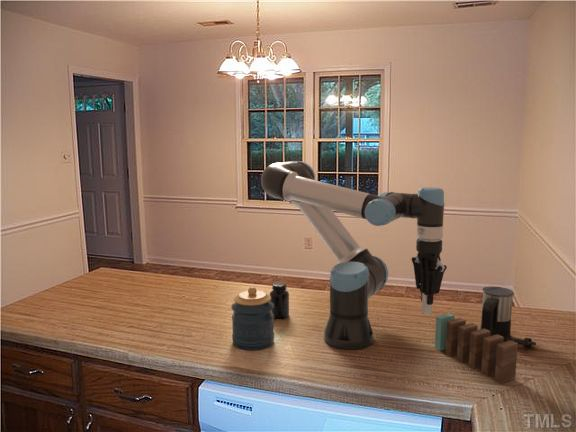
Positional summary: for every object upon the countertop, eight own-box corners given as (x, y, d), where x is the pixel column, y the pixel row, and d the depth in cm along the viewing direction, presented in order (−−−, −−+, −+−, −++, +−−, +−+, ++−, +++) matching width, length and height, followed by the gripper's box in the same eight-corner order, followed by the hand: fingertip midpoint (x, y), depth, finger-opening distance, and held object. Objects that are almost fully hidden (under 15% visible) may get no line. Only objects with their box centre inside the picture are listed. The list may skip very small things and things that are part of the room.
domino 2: (464, 352, 139) (465, 320, 137) (450, 356, 137) (452, 323, 135) (458, 350, 141) (460, 317, 139) (445, 353, 138) (447, 321, 137)
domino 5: (501, 372, 128) (503, 337, 126) (487, 376, 125) (489, 340, 124) (495, 369, 129) (497, 334, 128) (481, 373, 127) (483, 338, 125)
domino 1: (434, 348, 142) (436, 316, 141) (447, 344, 144) (449, 313, 143) (439, 350, 140) (441, 318, 139) (452, 347, 143) (454, 315, 141)
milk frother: (480, 327, 157) (482, 284, 154) (534, 335, 150) (537, 290, 148) (477, 345, 144) (480, 298, 142) (536, 354, 138) (540, 305, 135)
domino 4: (488, 365, 131) (490, 331, 130) (474, 369, 129) (476, 334, 127) (482, 362, 133) (484, 328, 131) (468, 366, 131) (470, 332, 129)
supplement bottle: (266, 318, 166) (266, 285, 164) (274, 311, 172) (274, 279, 170) (284, 321, 164) (284, 287, 162) (292, 314, 170) (291, 281, 168)
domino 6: (515, 379, 124) (517, 343, 122) (501, 384, 122) (503, 347, 120) (508, 376, 126) (511, 340, 124) (494, 380, 123) (497, 344, 122)
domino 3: (475, 359, 135) (477, 325, 133) (462, 363, 133) (464, 329, 131) (470, 356, 137) (472, 323, 135) (456, 360, 135) (458, 326, 133)
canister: (227, 337, 151) (225, 283, 148) (265, 330, 156) (264, 278, 153) (239, 354, 139) (238, 296, 136) (280, 346, 144) (280, 290, 141)
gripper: (405, 236, 148) (403, 308, 152) (435, 244, 137) (432, 322, 141) (424, 233, 152) (421, 304, 156) (454, 241, 140) (451, 318, 144)
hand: (426, 313), depth 148 cm, fingers closed
